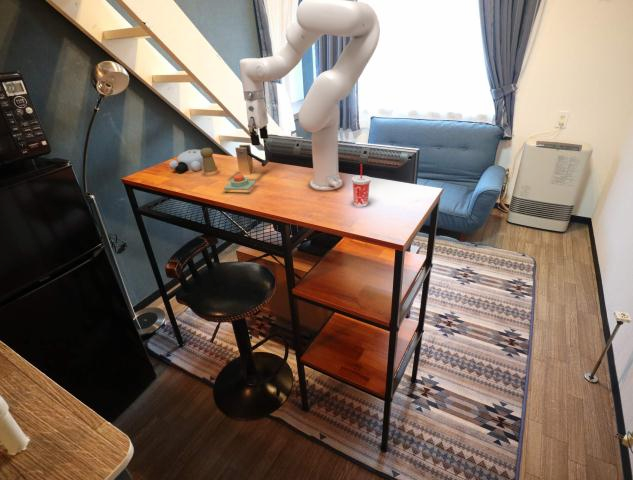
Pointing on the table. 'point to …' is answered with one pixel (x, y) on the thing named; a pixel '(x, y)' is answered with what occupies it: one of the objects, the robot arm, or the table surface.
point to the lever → (257, 158)
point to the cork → (208, 160)
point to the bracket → (244, 160)
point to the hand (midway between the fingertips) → (260, 141)
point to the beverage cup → (361, 190)
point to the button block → (239, 185)
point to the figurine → (187, 161)
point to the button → (239, 178)
